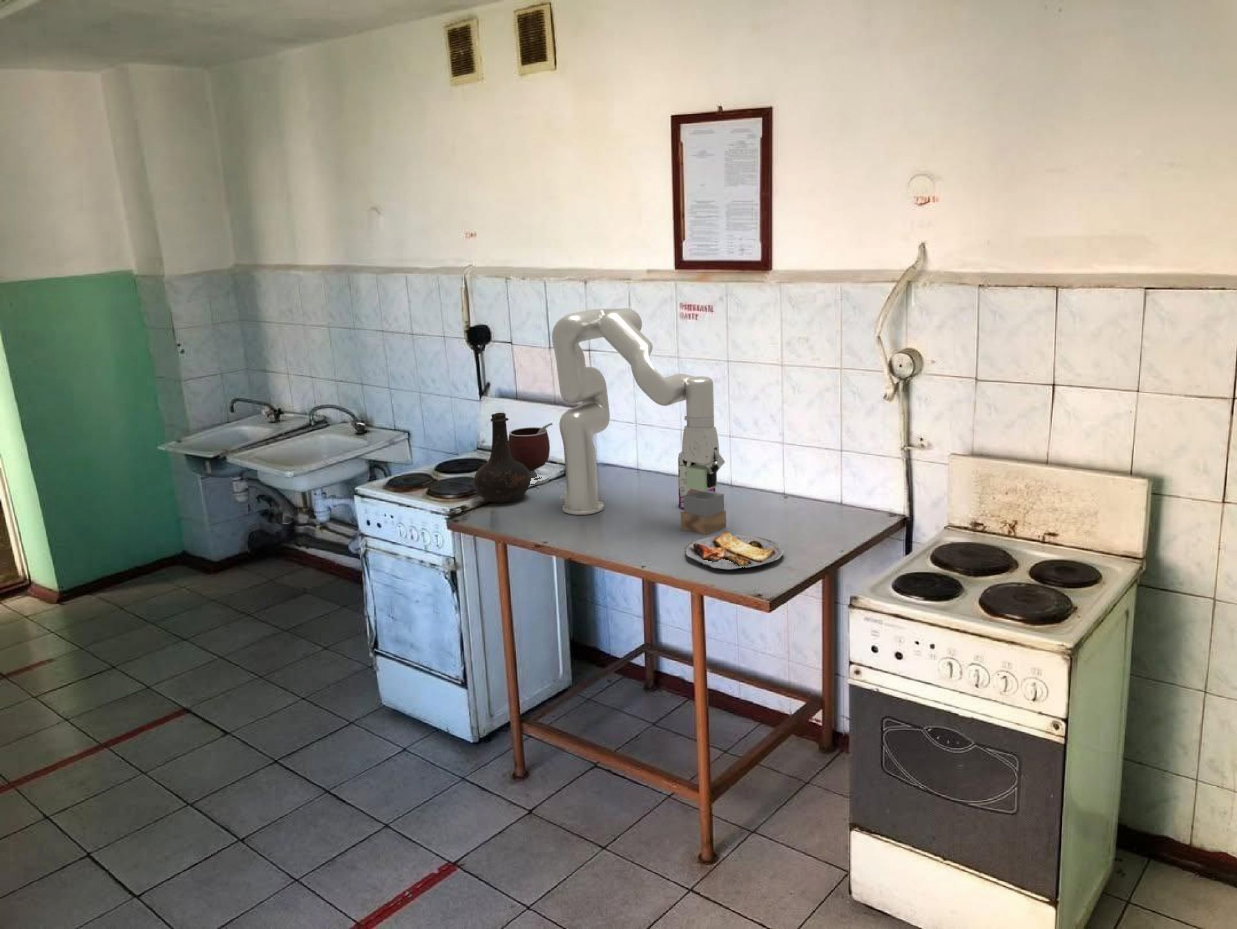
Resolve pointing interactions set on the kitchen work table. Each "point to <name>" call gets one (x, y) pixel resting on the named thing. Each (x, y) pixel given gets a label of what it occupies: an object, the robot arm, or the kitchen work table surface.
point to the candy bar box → (684, 483)
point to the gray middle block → (703, 503)
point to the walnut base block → (703, 522)
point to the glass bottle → (501, 468)
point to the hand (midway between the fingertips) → (702, 484)
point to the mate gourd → (530, 448)
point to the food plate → (734, 550)
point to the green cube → (698, 477)
